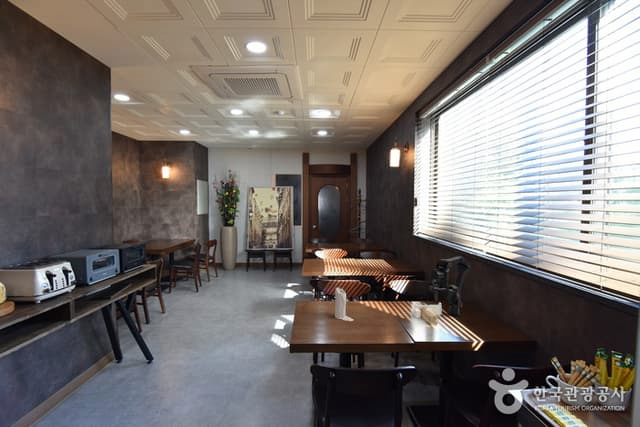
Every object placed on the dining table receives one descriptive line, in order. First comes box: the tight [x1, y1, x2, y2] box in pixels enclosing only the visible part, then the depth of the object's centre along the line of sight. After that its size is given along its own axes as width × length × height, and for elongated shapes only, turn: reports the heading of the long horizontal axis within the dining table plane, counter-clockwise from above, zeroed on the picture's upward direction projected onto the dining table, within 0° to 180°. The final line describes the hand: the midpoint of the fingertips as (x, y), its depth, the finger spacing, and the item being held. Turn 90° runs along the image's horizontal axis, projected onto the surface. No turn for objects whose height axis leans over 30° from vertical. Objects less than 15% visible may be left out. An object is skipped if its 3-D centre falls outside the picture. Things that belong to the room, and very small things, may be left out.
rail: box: [420, 308, 439, 326], centre depth 214 cm, size 4×16×6 cm, turn 10°
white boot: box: [334, 287, 354, 322], centre depth 214 cm, size 7×14×20 cm, turn 53°
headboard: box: [413, 302, 443, 319], centre depth 222 cm, size 21×6×9 cm, turn 100°
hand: (442, 300), depth 218 cm, fingers open, 9 cm apart
